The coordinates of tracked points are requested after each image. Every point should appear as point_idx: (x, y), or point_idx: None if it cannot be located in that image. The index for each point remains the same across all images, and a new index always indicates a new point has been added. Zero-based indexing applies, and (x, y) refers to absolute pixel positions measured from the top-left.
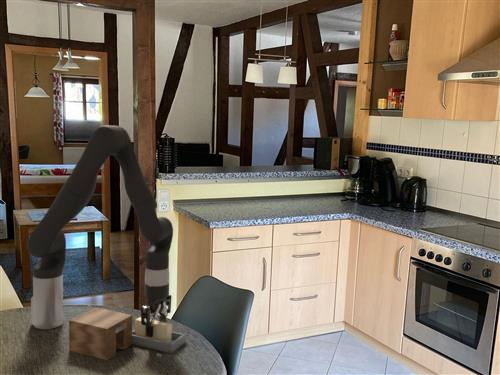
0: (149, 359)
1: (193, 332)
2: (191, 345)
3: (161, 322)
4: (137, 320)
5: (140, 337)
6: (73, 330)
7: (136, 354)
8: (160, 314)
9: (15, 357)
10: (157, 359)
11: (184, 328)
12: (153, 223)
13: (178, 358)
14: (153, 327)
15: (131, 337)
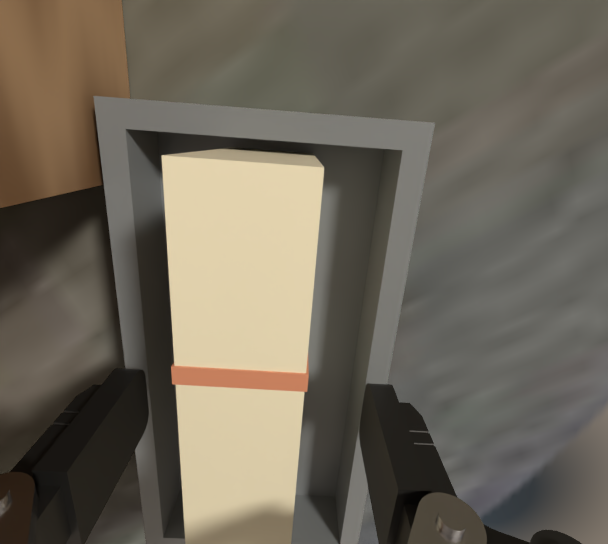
0: (18, 418)
1: (521, 480)
2: None
3: (267, 541)
4: (166, 212)
5: (117, 290)
6: None
7: (15, 310)
8: (415, 541)
9: None
10: None
11: (583, 408)
12: None
13: (135, 537)
14: (96, 517)
15: (94, 183)
